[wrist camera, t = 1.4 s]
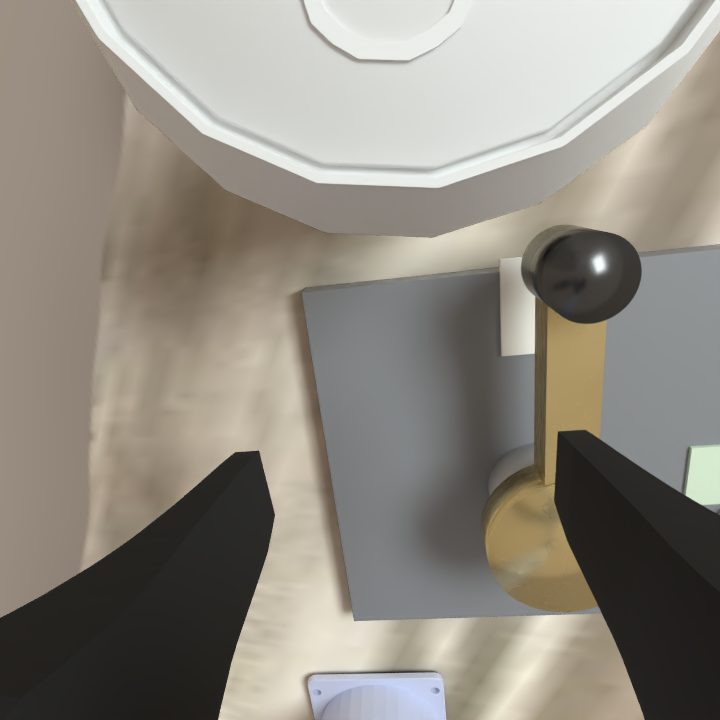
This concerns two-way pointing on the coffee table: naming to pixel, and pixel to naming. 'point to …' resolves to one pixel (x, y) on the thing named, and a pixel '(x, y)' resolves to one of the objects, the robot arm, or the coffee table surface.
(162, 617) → the robot arm
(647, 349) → the plate
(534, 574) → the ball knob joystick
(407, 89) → the supplement can
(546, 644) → the coffee table surface
